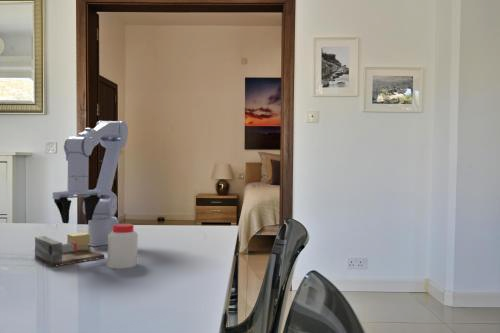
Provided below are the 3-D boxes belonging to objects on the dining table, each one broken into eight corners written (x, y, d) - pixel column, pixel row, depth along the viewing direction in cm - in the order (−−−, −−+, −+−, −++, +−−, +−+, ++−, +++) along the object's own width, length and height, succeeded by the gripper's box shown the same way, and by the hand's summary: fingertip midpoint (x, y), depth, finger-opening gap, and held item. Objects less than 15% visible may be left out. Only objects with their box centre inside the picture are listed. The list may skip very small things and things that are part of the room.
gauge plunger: (73, 250, 111) (73, 241, 111) (76, 251, 110) (77, 243, 110) (56, 252, 108) (56, 243, 108) (59, 254, 106) (59, 245, 106)
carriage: (83, 246, 122) (83, 232, 122) (89, 248, 120) (89, 234, 119) (67, 248, 119) (67, 234, 119) (72, 250, 116) (73, 236, 116)
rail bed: (84, 250, 124) (85, 231, 124) (104, 257, 115) (104, 237, 115) (34, 257, 113) (35, 237, 113) (52, 266, 105) (52, 244, 105)
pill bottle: (142, 263, 110) (143, 224, 110) (125, 270, 103) (126, 228, 103) (119, 260, 113) (120, 222, 113) (101, 267, 106) (101, 226, 105)
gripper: (91, 175, 127) (90, 217, 127) (47, 176, 115) (46, 222, 115) (105, 176, 123) (104, 219, 123) (60, 177, 111) (60, 225, 111)
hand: (77, 221), depth 119 cm, fingers open, 7 cm apart
